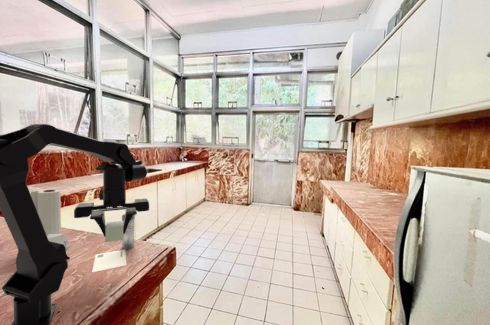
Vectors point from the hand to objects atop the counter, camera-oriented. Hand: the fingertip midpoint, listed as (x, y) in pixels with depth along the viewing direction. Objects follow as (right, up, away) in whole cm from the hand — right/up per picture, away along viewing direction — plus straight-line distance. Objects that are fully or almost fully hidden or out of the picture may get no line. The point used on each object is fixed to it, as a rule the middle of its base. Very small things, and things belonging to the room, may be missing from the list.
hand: (114, 234), depth 65 cm
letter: (-5, -11, +6) cm, 13 cm away
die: (-25, -10, +6) cm, 27 cm away
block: (0, -1, 0) cm, 1 cm away
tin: (-5, -10, +16) cm, 19 cm away
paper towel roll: (-32, -9, +12) cm, 35 cm away
